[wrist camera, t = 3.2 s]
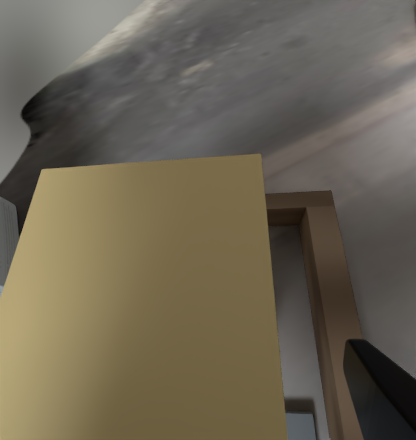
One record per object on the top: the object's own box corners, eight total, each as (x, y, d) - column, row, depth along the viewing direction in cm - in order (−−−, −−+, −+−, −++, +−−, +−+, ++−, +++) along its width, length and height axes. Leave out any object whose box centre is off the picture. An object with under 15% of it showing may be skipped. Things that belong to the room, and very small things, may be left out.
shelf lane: (362, 438, 13) (388, 458, 11) (72, 426, 14) (40, 440, 12) (320, 210, 18) (331, 190, 16) (109, 220, 20) (91, 203, 17)
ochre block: (256, 375, 14) (289, 456, 4) (164, 373, 15) (-45, 438, 4) (251, 280, 17) (261, 152, 6) (170, 282, 17) (41, 169, 6)
